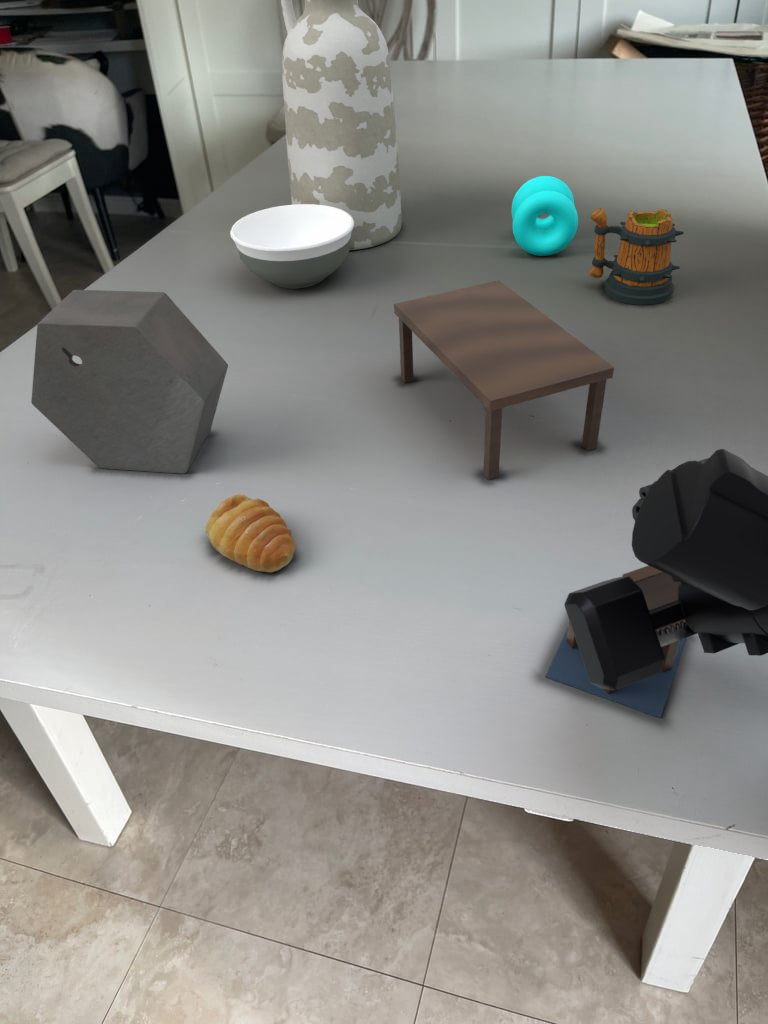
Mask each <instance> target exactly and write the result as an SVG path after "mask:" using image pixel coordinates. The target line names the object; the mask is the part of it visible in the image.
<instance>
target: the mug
mask: <svg viewBox="0 0 768 1024" xmlns="http://www.w3.org/2000/svg"><path fill="white" fill-rule="evenodd" d="M607 216H608V215H607V213H606V211H605V210H604V209H603V208H601V207H599V208H596V209H595V210H594V211H593V212H592V213H591V214H590V219H591V220H592V221H593V222H594V223H595V224H596V225H595V226H594V233H595V238H594V245H593V248H594V249H593V251H594V257H593V258H592V261H591V264H592V266H591V268H590V269H589V271H588V273H589V275H590V277H591V278H595V279H599V278H600V279H601V278H602V277H603V275H604V267H606V268H608V269H611V272H610V273H609V275H608V277H607V279H606V280H605V282H604V289H603V290H604V291H605V294H606V295H607V296H608V297H610V298H612V299H613V300H614V301H617V302H621V303H624V304H630V305H636V306H643V305H644V306H645V305H647V306H648V305H656V304H660V303H664V302H665V301H667V300H669V299H671V298H672V296H673V293H674V289H675V285H674V283H673V275H672V273H673V271H676V270H679V269H680V266H679V265H674V264H673V263H672V261H671V258H672V257H671V255H672V254H671V253H672V243H676V242H677V241H678V239H676V237H678V236H681V235H684V231H681V230H676V228H675V227H674V226H676V224H675V223H674V220H673V218H672V214H671V213H670V211H668V210H667V209H663V208H658V209H657V211H637V212H636V211H634V210H629V213H628V214H627V217H626V221H621V222H620V225H622V226H619V225H610V226H609V225H608V218H607ZM607 234H616V235H619V240H620V244H619V249H618V252H617V254H613V258H614V260H608V259H606V257H605V247H606V236H607Z"/></svg>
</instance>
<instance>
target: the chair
mask: <svg viewBox="0 0 768 1024" xmlns="http://www.w3.org/2000/svg"><path fill="white" fill-rule="evenodd" d="M624 576H630V577H631V578H632V579H633V581H634V582H635V583H636V584H637V585H638V586H639V587H640V588H641V589H642V591H643V594H644V597H645V600H646V603H647V606H648V609H649V610H652V609H655V608H657V607H660V606H663V605H665V604H668V603H671V602H674V601H676V600H678V586H679V584H680V583H681V582H674V581H673V580H672V577H671V576H670V575H668V574H666V573H664V572H662V571H660V570H657V569H655V568H653V567H651V566H649V565H646V566H643V567H640V568H637V569H634V570H632V571H629V572H626V573H623V574H622V575H621V577H624ZM681 621H684V622H685V620H684V619H683V620H681ZM681 621H678V622H675V623H679V624H680V622H681ZM675 623H673V624H670V625H674V624H675ZM670 625H668V626H665V627H668V628H669V626H670ZM665 627H662V628H660V629H663V630H664V628H665ZM567 628H568V632H567V639H566V641H567V642H568V644H569V645H570V646H571V648H572V649H573V648H576V647H578V645H577V642H576V639H575V636H574V633H573V630H572V627H571V624H570V621H569V620H568V626H567ZM656 631H658V632H659V629H657V630H656ZM679 642H680V640H679V641H676V642H674V643H671V644H668V645H666V646H663V647H661V648H662V651H663V654H664V657H665V661H664V664H663V668H662V672H665V671H668V670H670V669H672V667H673V664H674V660H675V656H676V653H677V649H678V646H679ZM604 690H605V691H606V692H607V693H608V694H610V693H612V692H615V691H617V690H609V689H604ZM618 690H619V689H618Z"/></svg>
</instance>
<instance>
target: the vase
mask: <svg viewBox="0 0 768 1024" xmlns="http://www.w3.org/2000/svg"><path fill="white" fill-rule="evenodd" d="M303 2H304V11H303V13H302V15H301V16H299V18H298V19H297V17H296V12H295V10H294V5H293V0H280V5H281V11H282V17H283V20H284V21H283V22H284V25H285V29H286V34H287V35H286V37H285V40H284V43H283V46H282V52H281V53H282V54H281V55H282V56H281V74H282V75H281V76H282V90H283V91H282V93H283V109H284V122H285V123H284V124H285V139H286V153H287V164H288V177H289V187H290V199H291V205H296V204H315V205H325V206H330V207H335V208H338V209H341V210H343V211H345V212H347V213H348V214H349V215H350V216H351V217H352V218H353V220H354V227H353V230H352V232H351V239H350V250H349V251H356V250H357V251H358V250H363V249H368V248H372V247H377V246H380V245H382V244H385V243H387V242H390V241H391V240H393V239H394V238H395V237H396V236H398V235H399V234H400V232H401V229H402V224H403V222H402V221H403V218H402V198H401V197H402V196H401V180H400V179H401V178H400V164H399V163H400V162H399V149H398V136H397V125H396V124H397V123H396V111H395V101H394V89H393V79H392V69H391V68H392V67H391V61H390V60H391V58H390V52H389V48H388V44H387V41H386V38H385V36H384V35H383V32H382V30H381V28H380V27H379V26H378V24H377V23H376V22H375V21H374V20H373V19H372V18H371V17H370V16H369V15H367V13H365V12H364V11H363V10H362V9H361V7H360V5H359V1H358V0H303Z"/></svg>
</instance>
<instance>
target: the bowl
mask: <svg viewBox="0 0 768 1024" xmlns="http://www.w3.org/2000/svg"><path fill="white" fill-rule="evenodd" d="M353 227H354V220H353V218H352V217H351V216H350V215H349V214H348V213H347V212H345V211H343V210H341V209H338V208H335V207H330V206H325V205H315V204H296V205H292V204H285V205H278V206H272V207H267V208H265V209H260V210H257V211H255V212H252V213H249V214H247V215H245V216H243V217H241V218H240V219H238V220H237V221H236V222H235V223H233V225H231V228H230V231H229V233H230V238H231V239H232V240H233V242H234V244H235V246H236V248H237V252H238V255H239V258H240V260H241V262H242V263H243V264H244V265H245V267H246V268H247V269H248V270H249V272H251V273H253V274H254V275H255V276H257V277H259V278H260V279H262V280H265V281H266V282H270V283H272V284H274V286H277V287H279V288H282V289H303V288H309V287H312V286H315V285H318V284H320V283H321V282H323V280H325V278H327V277H329V276H330V275H331V274H333V273H334V272H335V271H336V270H338V269H339V268H340V266H342V265H343V263H344V262H345V260H346V259H347V257H348V254H349V252H350V251H351V250H350V239H351V232H352V230H353Z"/></svg>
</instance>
